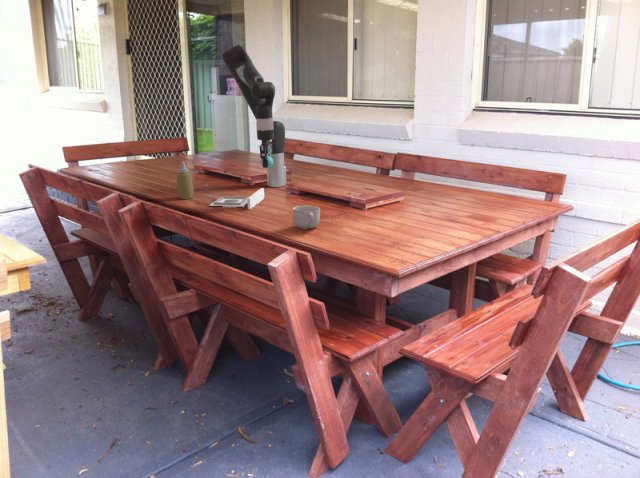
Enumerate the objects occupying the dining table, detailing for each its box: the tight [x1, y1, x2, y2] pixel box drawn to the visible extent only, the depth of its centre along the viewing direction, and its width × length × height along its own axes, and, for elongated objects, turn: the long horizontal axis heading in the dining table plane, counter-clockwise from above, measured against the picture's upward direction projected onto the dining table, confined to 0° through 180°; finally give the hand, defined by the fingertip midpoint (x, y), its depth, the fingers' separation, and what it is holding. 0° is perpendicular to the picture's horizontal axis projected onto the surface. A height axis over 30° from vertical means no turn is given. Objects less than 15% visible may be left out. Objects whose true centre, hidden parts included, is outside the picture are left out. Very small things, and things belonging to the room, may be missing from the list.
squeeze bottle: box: [176, 160, 195, 200], centre depth 289 cm, size 8×8×18 cm
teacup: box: [292, 205, 321, 229], centre depth 234 cm, size 14×11×8 cm
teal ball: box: [260, 156, 273, 169], centre depth 270 cm, size 6×6×6 cm
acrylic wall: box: [247, 187, 265, 210], centre depth 276 cm, size 22×1×5 cm, turn 169°
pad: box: [208, 195, 250, 208], centre depth 279 cm, size 16×16×2 cm
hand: (267, 166), depth 271 cm, fingers closed on teal ball, 5 cm apart
